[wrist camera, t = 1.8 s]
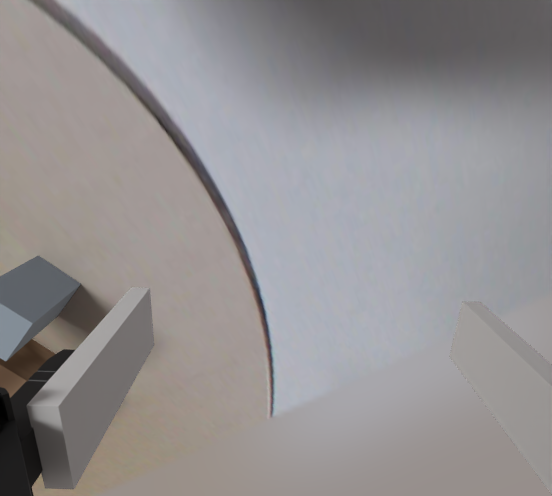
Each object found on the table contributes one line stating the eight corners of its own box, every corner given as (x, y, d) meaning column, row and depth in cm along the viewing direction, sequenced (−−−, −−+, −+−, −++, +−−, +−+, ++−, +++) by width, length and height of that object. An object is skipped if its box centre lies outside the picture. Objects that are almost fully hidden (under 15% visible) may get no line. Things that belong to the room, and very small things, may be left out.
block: (16, 289, 38) (-49, 329, 31) (38, 255, 37) (-23, 289, 30) (57, 315, 39) (5, 361, 32) (81, 283, 38) (32, 323, 31)
